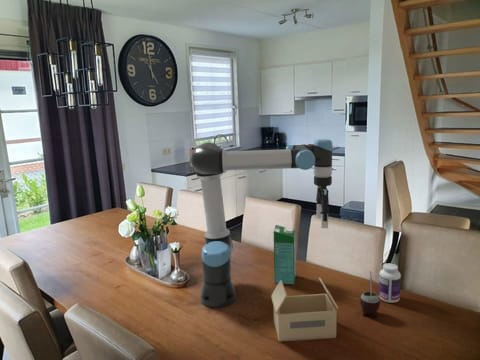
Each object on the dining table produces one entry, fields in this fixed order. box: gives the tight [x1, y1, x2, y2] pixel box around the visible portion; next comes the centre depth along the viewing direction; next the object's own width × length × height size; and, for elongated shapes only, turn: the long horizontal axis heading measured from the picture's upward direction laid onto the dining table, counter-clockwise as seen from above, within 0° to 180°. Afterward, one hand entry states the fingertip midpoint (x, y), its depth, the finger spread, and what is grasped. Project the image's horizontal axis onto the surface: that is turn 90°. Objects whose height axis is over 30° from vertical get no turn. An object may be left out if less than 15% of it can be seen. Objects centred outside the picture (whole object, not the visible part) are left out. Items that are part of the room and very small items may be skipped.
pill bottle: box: [378, 262, 402, 304], centre depth 146 cm, size 8×8×14 cm
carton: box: [273, 293, 338, 342], centre depth 129 cm, size 20×12×10 cm, turn 93°
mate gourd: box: [359, 270, 381, 319], centre depth 136 cm, size 8×8×15 cm
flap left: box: [270, 280, 288, 313], centre depth 127 cm, size 1×11×7 cm, turn 5°
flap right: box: [318, 277, 340, 310], centre depth 127 cm, size 1×11×7 cm
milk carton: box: [273, 224, 297, 285], centre depth 164 cm, size 9×9×25 cm
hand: (322, 222), depth 159 cm, fingers open, 13 cm apart
